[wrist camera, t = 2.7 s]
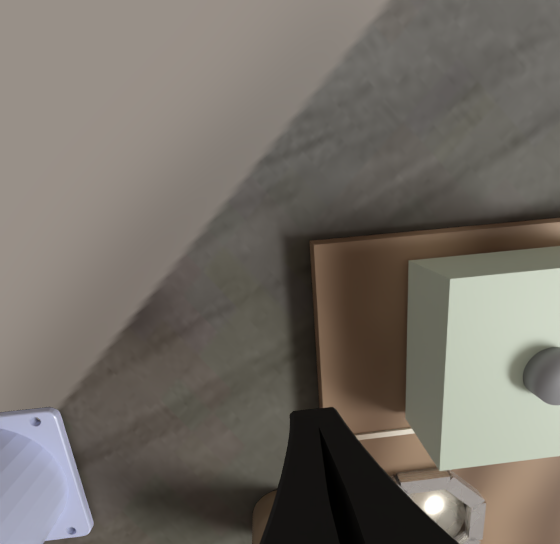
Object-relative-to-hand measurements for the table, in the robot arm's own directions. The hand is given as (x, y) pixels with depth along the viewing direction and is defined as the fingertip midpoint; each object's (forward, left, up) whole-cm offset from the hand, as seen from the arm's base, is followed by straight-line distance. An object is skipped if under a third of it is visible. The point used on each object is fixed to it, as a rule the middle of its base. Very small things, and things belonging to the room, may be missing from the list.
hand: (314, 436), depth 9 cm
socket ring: (+6, -11, -5) cm, 14 cm away
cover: (+9, 0, -5) cm, 10 cm away
